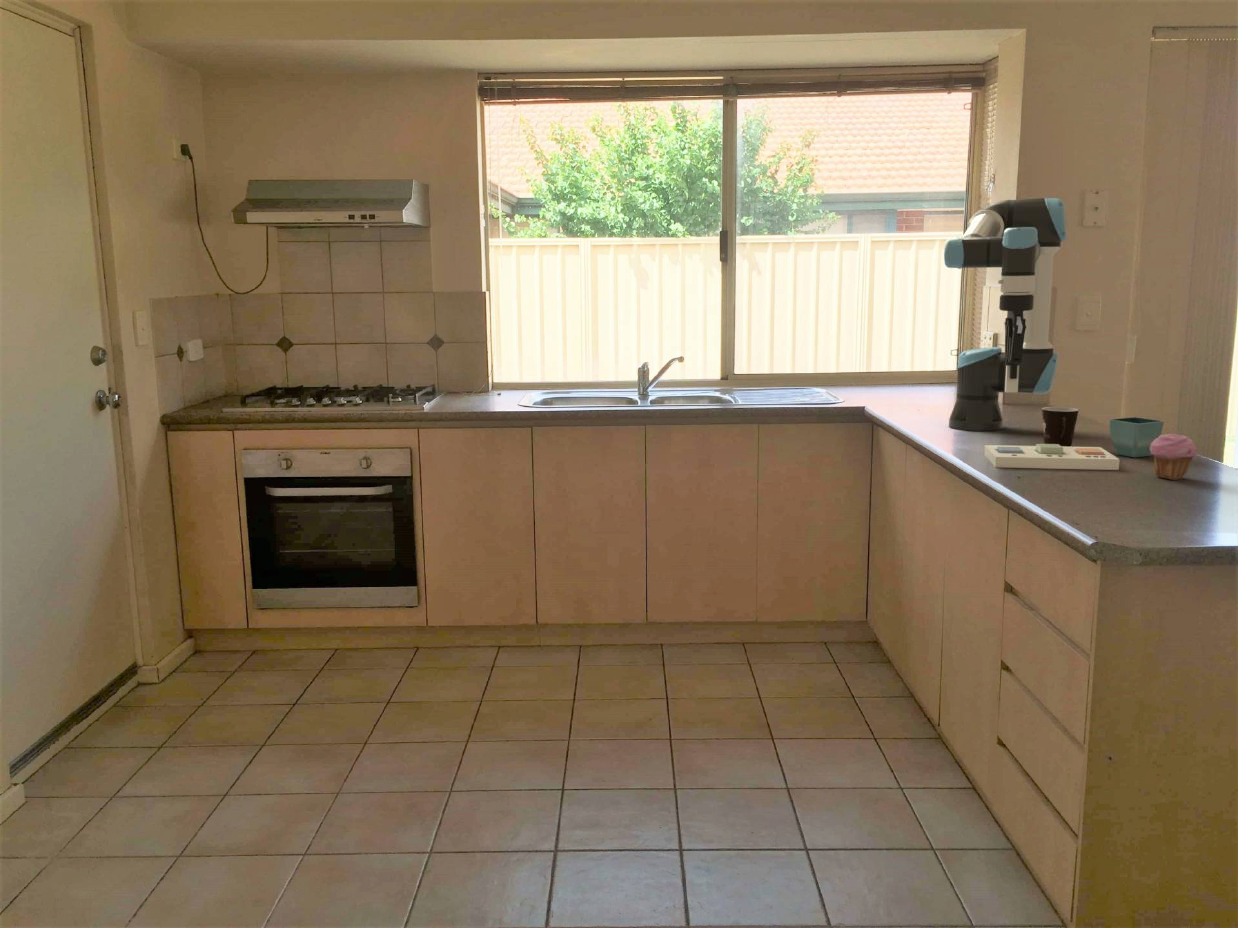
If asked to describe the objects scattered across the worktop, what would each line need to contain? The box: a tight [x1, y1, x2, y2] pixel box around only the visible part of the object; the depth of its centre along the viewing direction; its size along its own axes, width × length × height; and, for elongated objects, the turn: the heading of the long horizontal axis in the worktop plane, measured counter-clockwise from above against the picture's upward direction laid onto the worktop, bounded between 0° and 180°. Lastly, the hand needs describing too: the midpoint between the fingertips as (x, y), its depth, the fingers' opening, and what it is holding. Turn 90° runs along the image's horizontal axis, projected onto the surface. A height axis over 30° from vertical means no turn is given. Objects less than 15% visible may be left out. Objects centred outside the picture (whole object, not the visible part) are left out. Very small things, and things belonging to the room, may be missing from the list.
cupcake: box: [1150, 433, 1197, 481], centre depth 216 cm, size 9×9×10 cm
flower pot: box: [1108, 416, 1165, 459], centre depth 242 cm, size 9×9×9 cm
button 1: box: [997, 447, 1023, 454], centre depth 238 cm, size 5×5×3 cm
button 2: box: [1035, 443, 1063, 454], centre depth 236 cm, size 5×5×3 cm
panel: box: [983, 444, 1120, 471], centre depth 237 cm, size 16×27×3 cm, turn 79°
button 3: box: [1075, 448, 1104, 455], centre depth 235 cm, size 5×5×3 cm
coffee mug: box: [1041, 406, 1079, 447], centre depth 254 cm, size 12×9×10 cm
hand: (1011, 391), depth 239 cm, fingers closed
